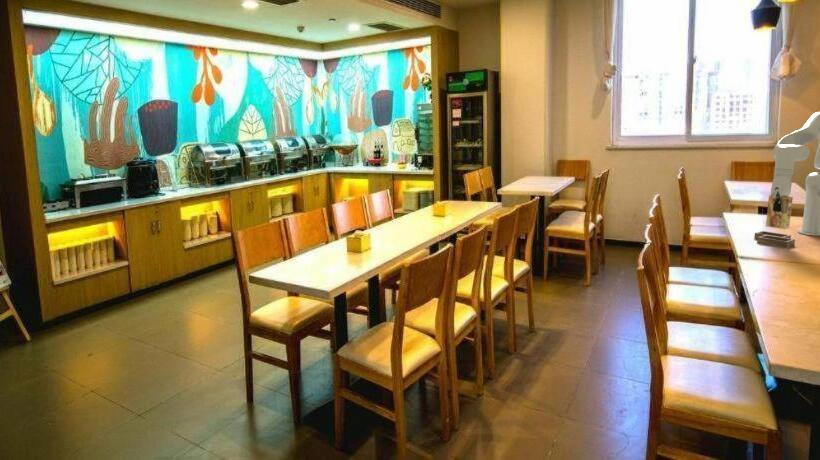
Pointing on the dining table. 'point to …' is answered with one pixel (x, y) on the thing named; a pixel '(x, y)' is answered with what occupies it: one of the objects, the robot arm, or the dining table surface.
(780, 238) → the holder
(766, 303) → the dining table surface
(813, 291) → the dining table surface
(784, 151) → the robot arm
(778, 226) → the candy box
